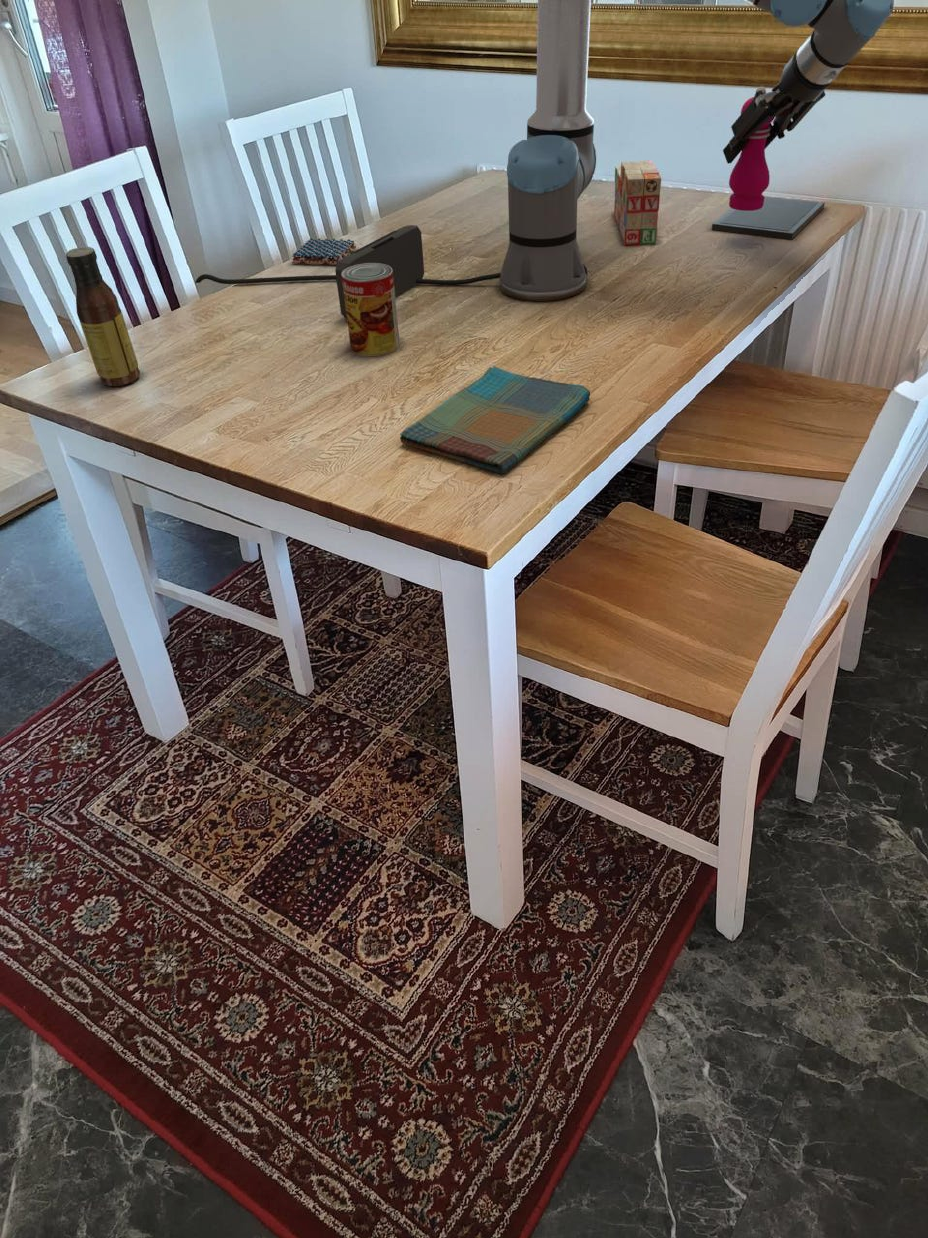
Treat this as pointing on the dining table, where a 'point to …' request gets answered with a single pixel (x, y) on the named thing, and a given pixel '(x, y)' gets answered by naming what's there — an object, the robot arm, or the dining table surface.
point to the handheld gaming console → (389, 259)
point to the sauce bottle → (102, 321)
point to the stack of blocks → (637, 201)
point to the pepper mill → (751, 170)
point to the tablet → (771, 218)
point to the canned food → (371, 309)
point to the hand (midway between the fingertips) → (739, 154)
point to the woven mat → (323, 251)
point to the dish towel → (496, 419)
